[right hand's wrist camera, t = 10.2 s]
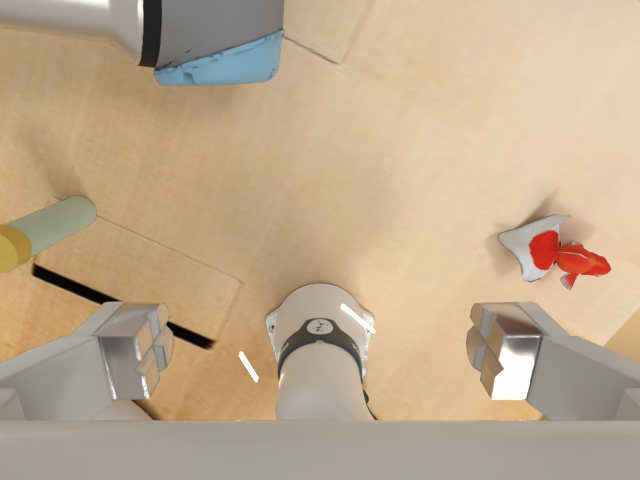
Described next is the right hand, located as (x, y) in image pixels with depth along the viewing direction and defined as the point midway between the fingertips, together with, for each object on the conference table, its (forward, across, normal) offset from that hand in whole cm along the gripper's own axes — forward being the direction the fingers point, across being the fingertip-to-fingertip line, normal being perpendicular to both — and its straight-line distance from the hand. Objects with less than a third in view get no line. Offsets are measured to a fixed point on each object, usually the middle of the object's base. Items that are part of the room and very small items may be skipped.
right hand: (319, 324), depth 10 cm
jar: (+48, -37, -11) cm, 62 cm away
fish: (+48, +35, -17) cm, 62 cm away
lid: (+31, -37, -11) cm, 50 cm away
